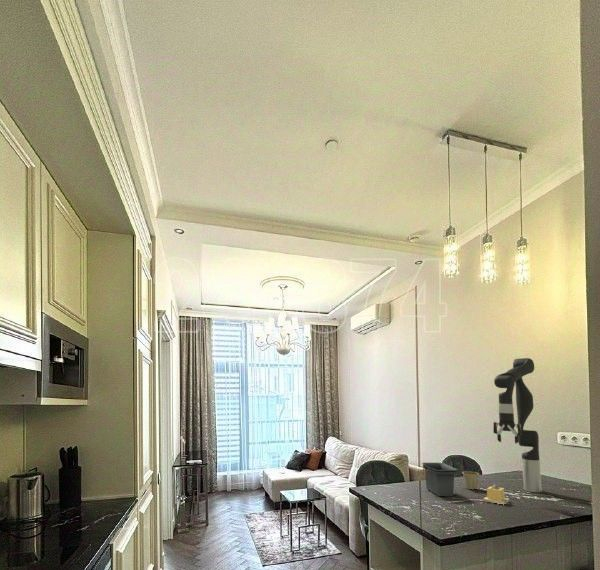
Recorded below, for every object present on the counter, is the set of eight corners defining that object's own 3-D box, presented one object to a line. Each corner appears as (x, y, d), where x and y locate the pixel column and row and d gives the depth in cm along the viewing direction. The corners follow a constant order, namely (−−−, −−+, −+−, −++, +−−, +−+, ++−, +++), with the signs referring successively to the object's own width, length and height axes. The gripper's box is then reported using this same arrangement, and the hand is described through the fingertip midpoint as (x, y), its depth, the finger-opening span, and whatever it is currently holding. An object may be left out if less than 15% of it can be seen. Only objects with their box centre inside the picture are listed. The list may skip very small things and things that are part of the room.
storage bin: (460, 497, 255) (459, 469, 258) (433, 498, 253) (432, 469, 255) (442, 488, 276) (441, 462, 278) (417, 489, 273) (416, 462, 276)
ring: (491, 496, 253) (490, 486, 254) (504, 498, 249) (504, 488, 250) (487, 498, 248) (486, 488, 249) (500, 500, 244) (500, 490, 245)
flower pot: (463, 489, 274) (462, 473, 275) (462, 486, 282) (462, 470, 284) (480, 491, 271) (479, 475, 272) (479, 487, 280) (479, 472, 281)
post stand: (489, 498, 255) (488, 482, 257) (509, 501, 249) (508, 485, 251) (483, 501, 247) (482, 485, 249) (503, 505, 241) (502, 488, 243)
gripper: (521, 412, 266) (523, 443, 263) (495, 411, 274) (496, 440, 271) (518, 413, 260) (520, 444, 257) (490, 411, 269) (492, 441, 265)
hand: (508, 442), depth 264 cm, fingers open, 8 cm apart
